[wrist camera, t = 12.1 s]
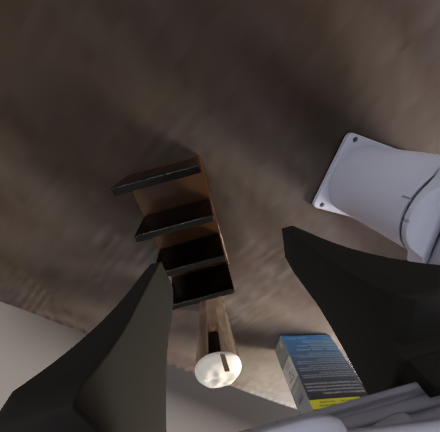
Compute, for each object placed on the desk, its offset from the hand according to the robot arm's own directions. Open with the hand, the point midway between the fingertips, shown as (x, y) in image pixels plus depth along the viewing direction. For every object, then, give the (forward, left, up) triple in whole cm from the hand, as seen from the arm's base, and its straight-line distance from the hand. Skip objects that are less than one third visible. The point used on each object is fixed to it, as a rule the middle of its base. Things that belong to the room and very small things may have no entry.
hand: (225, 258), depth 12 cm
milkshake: (-4, +14, -11) cm, 18 cm away
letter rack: (+2, +3, -10) cm, 11 cm away
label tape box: (-21, +20, -11) cm, 31 cm away
